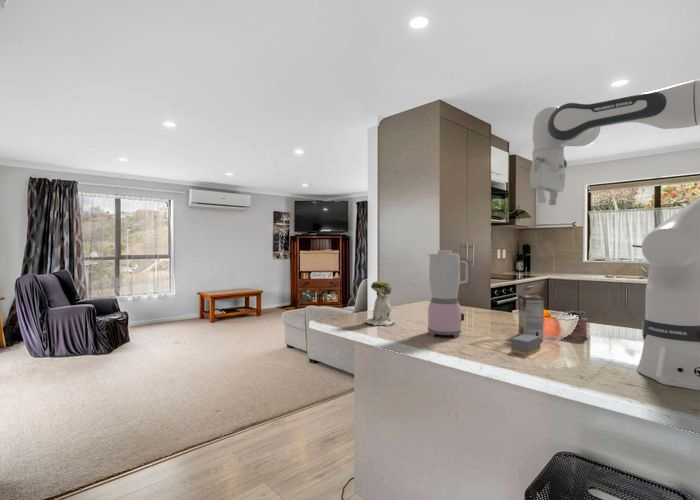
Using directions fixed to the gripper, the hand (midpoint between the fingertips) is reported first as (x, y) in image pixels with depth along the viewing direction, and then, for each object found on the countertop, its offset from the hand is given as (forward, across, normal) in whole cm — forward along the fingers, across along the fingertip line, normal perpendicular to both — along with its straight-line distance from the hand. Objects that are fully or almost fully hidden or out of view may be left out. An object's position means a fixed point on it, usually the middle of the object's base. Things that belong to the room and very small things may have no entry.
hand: (547, 204), depth 119 cm
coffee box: (+47, +8, +8) cm, 49 cm away
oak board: (+47, -10, +8) cm, 49 cm away
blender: (+47, -4, +33) cm, 58 cm away
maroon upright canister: (+47, +24, -1) cm, 53 cm away
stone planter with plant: (+47, -8, +64) cm, 80 cm away
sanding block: (+46, -10, +2) cm, 47 cm away
